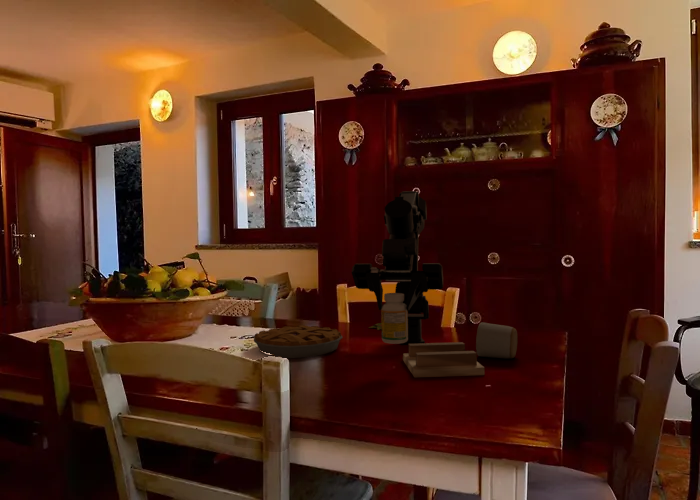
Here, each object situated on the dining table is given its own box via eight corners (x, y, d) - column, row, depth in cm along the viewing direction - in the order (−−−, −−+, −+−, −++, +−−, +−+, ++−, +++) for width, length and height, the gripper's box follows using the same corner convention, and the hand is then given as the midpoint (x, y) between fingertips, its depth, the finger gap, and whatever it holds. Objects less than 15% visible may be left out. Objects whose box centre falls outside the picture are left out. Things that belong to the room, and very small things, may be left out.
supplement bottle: (401, 345, 100) (400, 296, 99) (377, 342, 102) (376, 295, 102) (412, 339, 104) (411, 292, 104) (388, 337, 107) (387, 291, 107)
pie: (286, 365, 112) (286, 342, 112) (237, 349, 129) (237, 330, 129) (360, 349, 127) (359, 329, 127) (307, 337, 143) (307, 319, 143)
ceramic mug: (513, 362, 110) (513, 327, 110) (475, 359, 114) (475, 324, 114) (520, 353, 120) (520, 320, 120) (484, 350, 123) (484, 318, 123)
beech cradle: (403, 360, 114) (402, 342, 114) (464, 358, 115) (464, 340, 115) (414, 377, 100) (414, 357, 100) (484, 375, 101) (484, 354, 101)
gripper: (352, 225, 108) (340, 283, 98) (441, 223, 104) (437, 284, 94) (361, 260, 116) (351, 316, 106) (444, 259, 112) (441, 319, 102)
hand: (393, 309), depth 102 cm, fingers closed on supplement bottle, 5 cm apart
